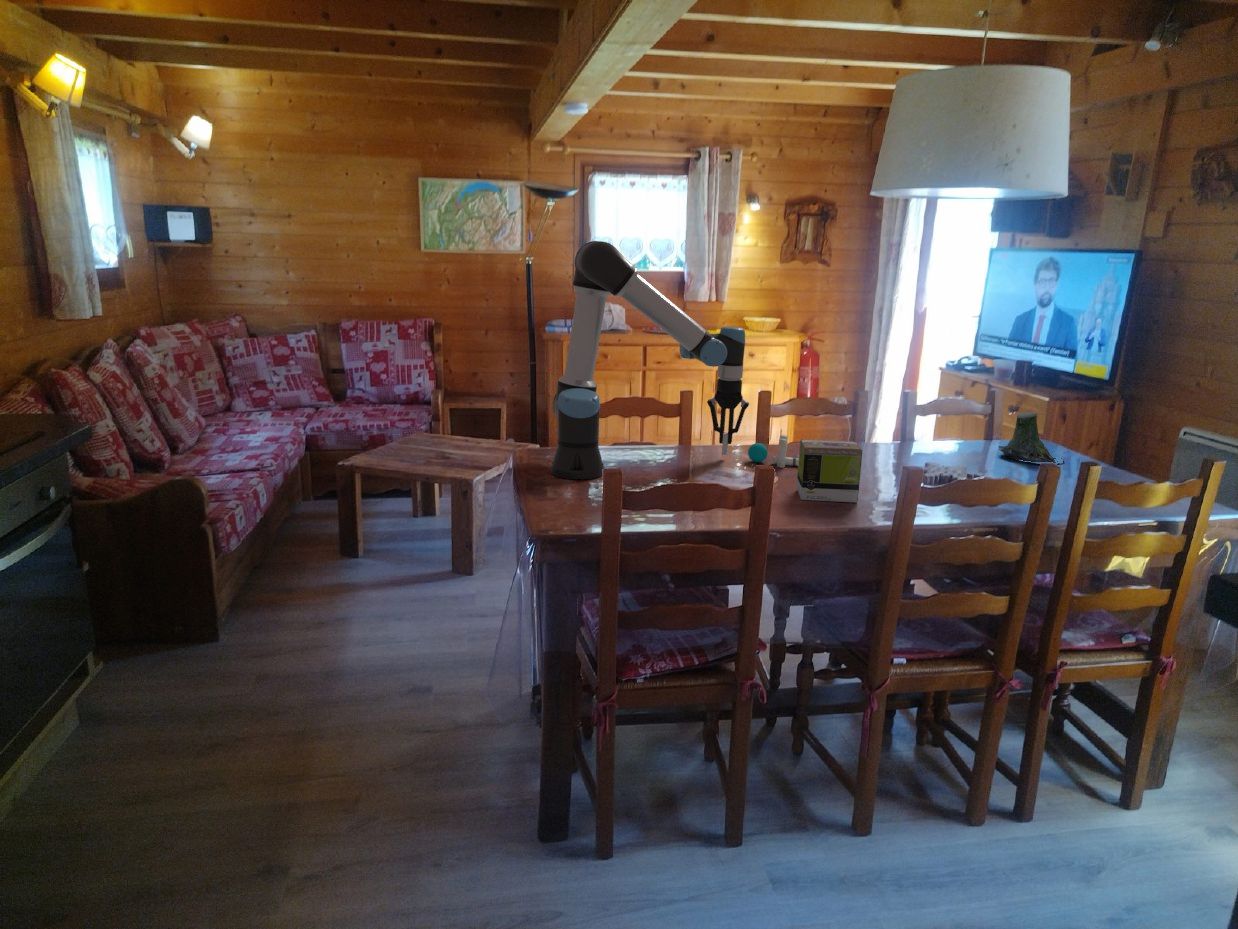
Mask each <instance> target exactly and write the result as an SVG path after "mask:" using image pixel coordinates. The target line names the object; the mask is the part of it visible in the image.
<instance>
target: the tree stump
mask: <svg viewBox="0 0 1238 929" xmlns="http://www.w3.org/2000/svg"><path fill="white" fill-rule="evenodd" d="M998 450H999V451H1000V452H1002V453H1003V455H1004V456H1006V455H1007V456H1009V457H1008V458H1010V457H1011V458H1010V459H1012V458H1013V459H1012V460H1015V459H1017V460H1023V461H1031V462H1053V463H1056V462H1055V460H1054V459H1056V458H1053V457H1052V456H1051V455H1052V454H1051V453H1050V452H1049V450H1048V448H1047V447H1046V446H1045V443H1043V441H1042V440H1040V437H1039V428H1038V413H1037V412H1034V411H1033V412H1032V411H1029V412H1028V411H1026V412H1022V413H1019V414H1017V415H1016V422H1015V426H1014V433H1013V436H1012V438H1011V439H1010V440H1009V441H1008V443H1007V445H1004V446H1003V445H999V446H998ZM1050 454H1051V455H1050ZM1007 456H1006V457H1007ZM1061 459H1063V457H1062V458H1061ZM1017 460H1016V461H1017ZM1057 462H1058V461H1057ZM1058 464H1059V465H1061V464H1060V463H1058Z"/></svg>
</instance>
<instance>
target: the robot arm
mask: <svg viewBox="0 0 1238 929" xmlns="http://www.w3.org/2000/svg"><path fill="white" fill-rule="evenodd" d="M574 269H575V270H574V276H573V280H572V281H573V282H572V287H573V288H574V290H575V292H576V295H575V296H576V298H575V302H574V309H573V310H574V311H573V317H572V322H571V329H570V330H571V331H570V336H569V341H568V342H569V344H568V349H567V356H566V362H565V370H564V374H563V375H561V376H560V377H559V378H558V380H557V386H556V393H555V395H554V397H553V401H552V408H553V409H552V410H553V412H554V414H555V417H556V419H557V446H556V451H555V454H554V457H553V461H552V462H551V466H550V467H551V468H550V472H551V474H552V475H553V476H555V477H556V478H557V477H558V478H561V479H568V480H577V479H581V480H591V479H592V480H593V479H596V478H600V477H602V476H603V475H602V469H604V470H605V466H604V465H605V464H604V463H603V460H602V459H603V458H602V455H601V452H600V448H599V439H600V438H599V437H600V436H599V435H600V434H599V432H600V409H601V402H600V396H599V395H598V393H597V388H598V385H597V383H596V381H595V380H594V375H595V369H596V364H597V359H598V358H597V357H598V353H599V352H598V350H599V345H600V338H601V332H602V326H603V320H604V313H605V308H606V302H607V298H608V297H609V296H610V295H613V296H614V297H621V298H622V299H623V300H625V301H626V302H627V303H628V304H630V306H632V307H633V308H635V309H636V310H637V311H639V312H640V313H641V314H642V315H643V316H645V317H646V318H647V319H648V320H650V321H651V322H652V323H654V325H655V326H657V328H659V329H661V330H662V331H663V332H665V333H666V334H667V335H669V336H670V337H671V338H672V339H673V340H675V341H676V342H677V343H678V344H679V355H680V357H681V358H682V359H686V360H687V359H689V360H698V361H699V362H701V363H703V365H706V366H708V367H713V368H714V367H715V368H716V367H717V377H718V379H717V380H716V393H715V394H714V397H712V398H709V399H707V402H706V403H707V405H708V407H709V408H710V415H711V419H712V420H711V421H712V426H713V430H714V431H715V432H717V433H719V438H718V442H719V444H720V445H721V444H722V445H721V446H722V449H721V456H727V455H728V452H729V451H728V450H729V445H731V444H732V443H733V435H734V434H737V433H738V432H739V430H740V426H741V423H742V421H743V418H744V414H745V411H746V410H747V408H748V407H749V405H750V403H749V401H746V400H744V399H743V394H742V387H743V380H742V378H743V375H744V356H745V350H746V349H745V346H746V331H745V329H744V328H743V327H739V326H722V327H721V328H720V331H719V333H710V332H709V331H707V330H706V329H705V328H704V327H703V326H702V325H700V324H699V323H698V322H697V321H696V320H694V319H693V318H692V317H690V316H689V315H688V314H687V313H686V312H685V311H683V310H682V309H681V308H680V307H678V306H677V305H676V304H675V303H673V302H672V301H671V300H670V299H669V298H667V297H666V296H665V295H664V294H663V293H661V292H660V291H659V290H658V289H657V288H655V286H653V285H652V284H651V283H649V282H648V281H647V280H646V279H644V277H642V276H641V275H640V274H639V273H638V268H637V267H636V266H635V265H633V263H632V262H630V261H629V260H628V259H627V258H626V257H625V256H624V255H623V254H622V253H621V251H619V249H617V248H616V247H615V245H613V244H611V243H610V242H607V241H601V240H591V241H589V242H586V243H584V244H582V246H580V247H579V249H578V251H577V252H576V254H575V257H574ZM716 403H717V405H718V406H719V407H720V421H718V417H717V410H716ZM739 404H740V407H741V409H740V411H739V414H738V417H737V420H736V424H735V425H734V417H735V409H736V408H737V407H738V405H739ZM727 409H728V410H729V412H728V413H729V415H728V426H727V428H728V430H727V431H728V432H725V427H726V426H725V424H726V413H727Z"/></svg>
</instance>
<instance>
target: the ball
mask: <svg viewBox="0 0 1238 929" xmlns="http://www.w3.org/2000/svg"><path fill="white" fill-rule="evenodd" d="M747 456H748V458H749V459H750V460H751V461H752V462H753V463H754V462H755V463H761V462H763V461H765V460H766V459H767V457H768V449H767V446H765V445H764V444H762V443H760V442H755V443H753V444H751V445H750V446H749V448H748V450H747Z"/></svg>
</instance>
